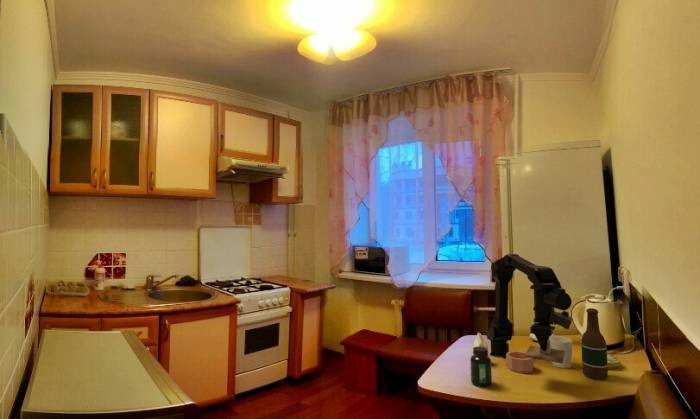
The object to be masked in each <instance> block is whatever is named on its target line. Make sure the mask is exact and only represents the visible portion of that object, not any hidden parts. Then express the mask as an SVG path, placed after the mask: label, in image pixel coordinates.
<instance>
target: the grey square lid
mask: <svg viewBox="0 0 700 419" xmlns="http://www.w3.org/2000/svg"><path fill="white" fill-rule="evenodd" d="M564 355H565V351H564V350H558V349H551V348H550V340H548V343H547V349H546V351H543V350H542V348H541V346H540V345H539V346H537V345H529V347H528V349H527V350H526V354H525V357H526V358H532V359H533V360H539V361H545V362H551V363H552V362H556V363H562V362H563V358H564Z"/></svg>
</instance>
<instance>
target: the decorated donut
mask: <svg viewBox="0 0 700 419" xmlns="http://www.w3.org/2000/svg"><path fill="white" fill-rule="evenodd" d="M621 363H622V361H621V360H620V359H619V357H617V356H615V355H611V354H609V353H607V365H608V370H610V369H611V370H618V369H619V368H620V366H621Z"/></svg>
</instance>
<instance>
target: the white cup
mask: <svg viewBox="0 0 700 419" xmlns="http://www.w3.org/2000/svg"><path fill="white" fill-rule="evenodd" d="M549 340H550V348H551V349H558V350H564V351H565V355H564V358H563V362H562V363H556V362H551V364H552V366H554V367H556V368H562V369H570V368H572V362H573V361H572V359H573V339H571V338H570V337H566V336H560V335H555V336H551V337H549Z"/></svg>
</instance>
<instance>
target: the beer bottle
mask: <svg viewBox="0 0 700 419" xmlns="http://www.w3.org/2000/svg"><path fill="white" fill-rule="evenodd" d="M585 313H586V314H587V315H586V328H585V329H586V330H585V332H584V333H583V334H582V337H581V342H580V344H581V345H580V347H581V368H582V374H583V375H584V376H585V377H586V378H588V379H590V380H594V381H605V380H607V379H608V378H609V369H608V365H607V354H608V346H607V341H606V339H605V337H604V335H603V334H602V333H601V329H600V323H599V315H598V314H599V313H600V312H599V310H598V309H597V308H592V307H591V308H586V311H585Z"/></svg>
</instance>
